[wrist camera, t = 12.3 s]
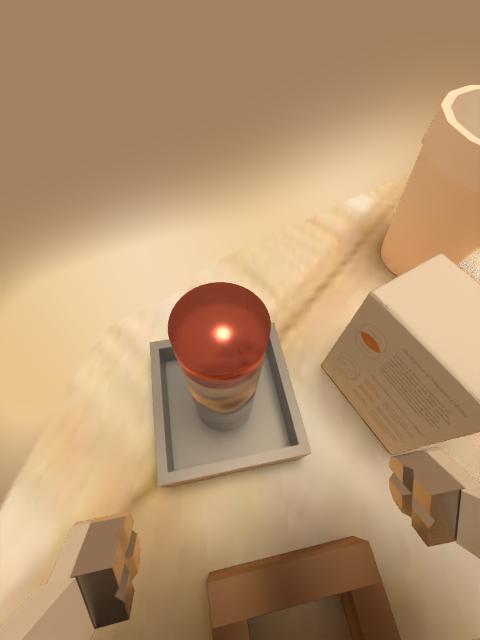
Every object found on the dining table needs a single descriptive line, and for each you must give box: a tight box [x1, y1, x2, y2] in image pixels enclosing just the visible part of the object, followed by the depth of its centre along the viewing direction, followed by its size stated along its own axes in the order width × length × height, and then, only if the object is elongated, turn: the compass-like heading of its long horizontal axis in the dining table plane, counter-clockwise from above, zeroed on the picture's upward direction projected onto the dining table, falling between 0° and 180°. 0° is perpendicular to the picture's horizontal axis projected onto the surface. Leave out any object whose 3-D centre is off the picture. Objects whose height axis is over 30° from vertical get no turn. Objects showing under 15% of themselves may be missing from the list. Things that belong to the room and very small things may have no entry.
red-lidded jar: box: [168, 282, 271, 432], centre depth 17 cm, size 4×4×12 cm
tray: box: [150, 323, 311, 487], centre depth 21 cm, size 9×9×3 cm
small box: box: [321, 254, 480, 454], centre depth 19 cm, size 8×6×10 cm
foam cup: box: [380, 85, 480, 276], centre depth 25 cm, size 10×9×13 cm
